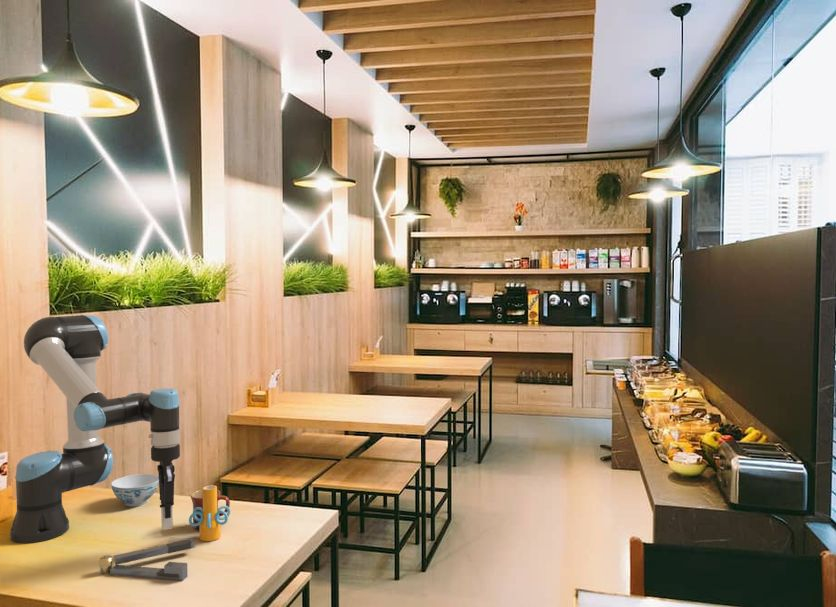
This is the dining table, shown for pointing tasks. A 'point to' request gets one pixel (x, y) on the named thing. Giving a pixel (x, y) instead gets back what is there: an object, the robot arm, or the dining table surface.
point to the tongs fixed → (144, 570)
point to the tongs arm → (154, 551)
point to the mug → (198, 502)
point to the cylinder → (209, 515)
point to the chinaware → (135, 488)
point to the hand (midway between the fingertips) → (167, 528)
